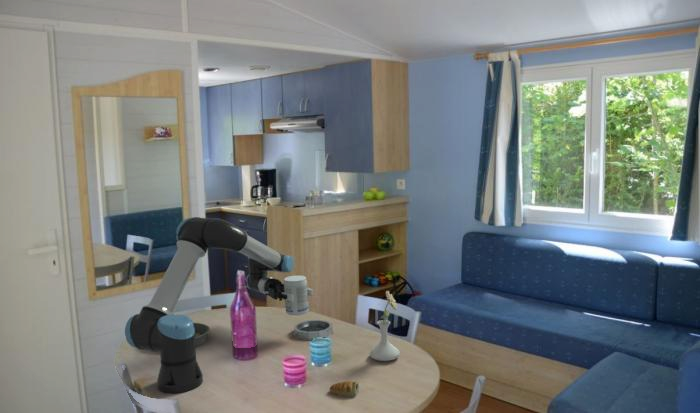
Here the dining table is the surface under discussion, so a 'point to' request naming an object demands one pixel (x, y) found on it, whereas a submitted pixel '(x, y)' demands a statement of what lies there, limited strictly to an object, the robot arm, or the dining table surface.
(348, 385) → the pastry
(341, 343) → the dining table surface
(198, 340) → the cake pan
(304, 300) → the supplement tub
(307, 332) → the grey pet bowl
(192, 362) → the robot arm
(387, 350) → the flower in vase
